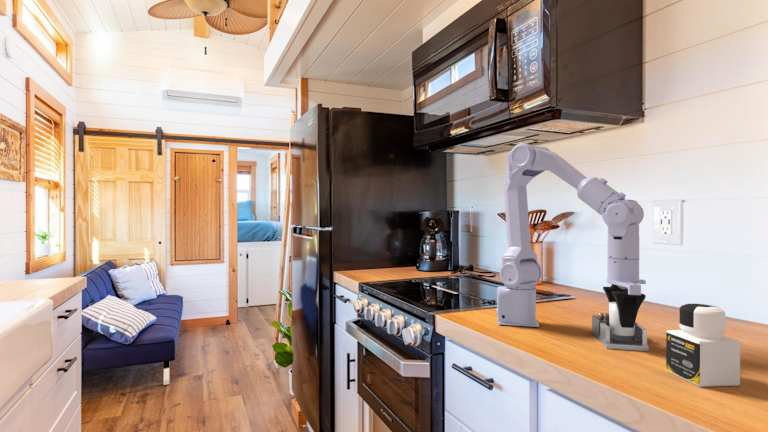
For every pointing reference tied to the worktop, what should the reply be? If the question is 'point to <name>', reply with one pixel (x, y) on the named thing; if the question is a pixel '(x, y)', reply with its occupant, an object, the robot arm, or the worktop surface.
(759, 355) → the worktop surface
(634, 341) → the grey tray
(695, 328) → the medicine bottle
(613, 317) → the white cylinder
